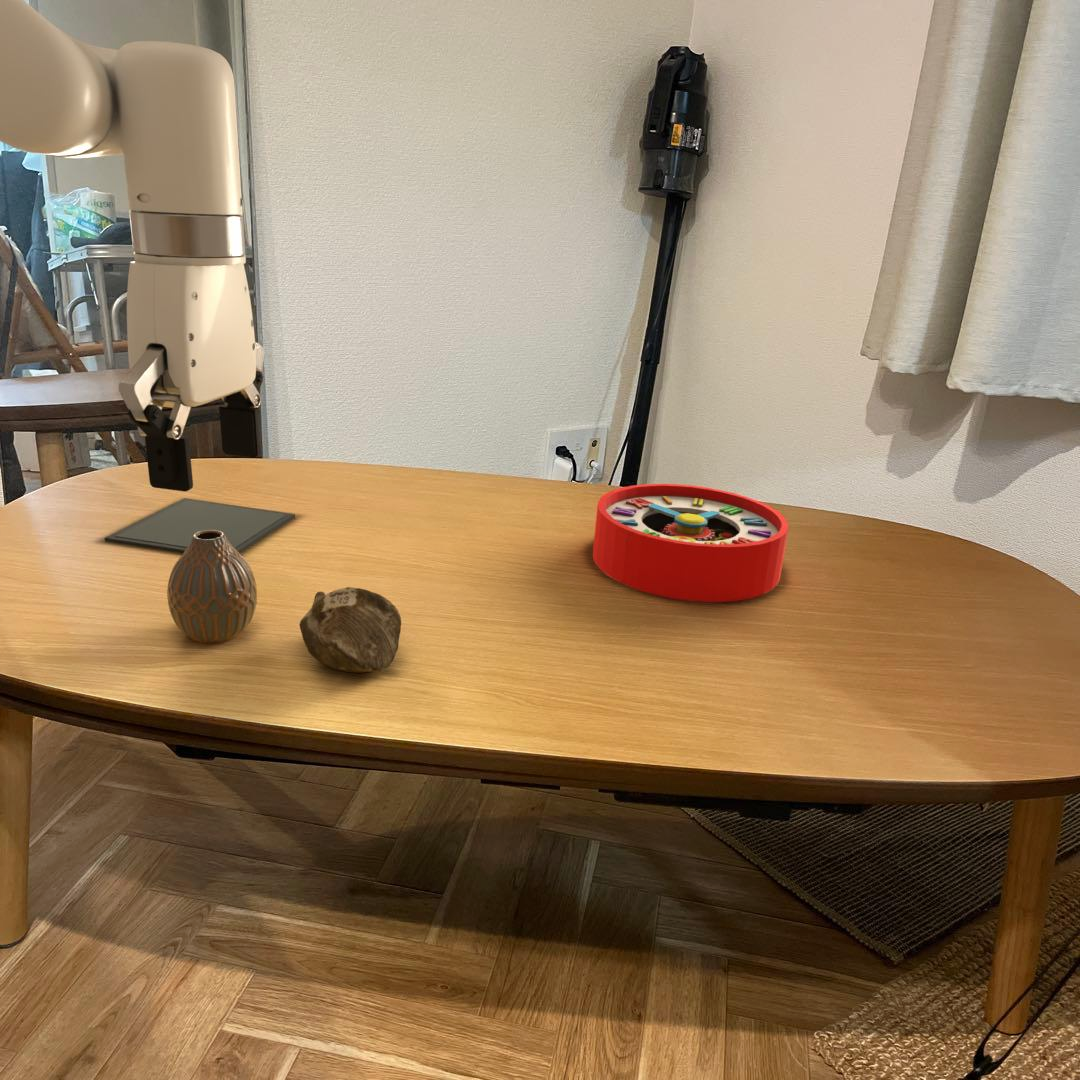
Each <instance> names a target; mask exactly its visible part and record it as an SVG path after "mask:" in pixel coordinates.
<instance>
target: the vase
mask: <svg viewBox="0 0 1080 1080" xmlns="http://www.w3.org/2000/svg"><path fill="white" fill-rule="evenodd" d="M255 578H256V577H255V575H254V572H253V570H252V567H251V566H250V564H249V562H248V561H247V560H246V558H245V557H244V556H243V555H242V553H239V552H238V551H237V550H236V549H235V548H234V547H233V546H232V545H231V544H230V543H229V541H228V540H227V538H226V536H225V534H224V533H223V532H221V531H217V530H205V531H200V532H197V533H195V534H194V535H193V537H192V540H191V542H190V544H189V546H188V548H187V549H186V550H185V552H184V553H181V556H180V557H179V558H178V559H177V561H176V562H175V563H174V566H173V567H172V570H171V572H170V574H169V578H168V582H167V588H166V589H167V590H166V593H167V594H166V595H167V597H166V598H167V605H168V609H169V613H170V616H171V618H172V620H173V621H174V624H175V625H176V626H177V628H178V629H179V630H180V631H181V632H182V634H184V635H185V636H187V637H188V638H189V639H192V640H193V641H195V642H199V643H203V644H217V643H223V642H228V641H230V640H232V639H235V638H237V637H238V636H240V634H241V633H243V632H244V630H246V629H247V627H248V626H249V624H250V623H251V621H252V619H253V617H254V615H255V611H256V607H257V602H258V590H257V581H256V579H255Z"/></svg>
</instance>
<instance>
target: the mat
mask: <svg viewBox="0 0 1080 1080" xmlns="http://www.w3.org/2000/svg"><path fill="white" fill-rule="evenodd" d="M295 518H296V514H295V513H291V512H290V513H289V512H283V511H276V510H269V509H261V508H256V507H249V506H240V505H234V504H229V503H227V504H226V503H220V502H213V501H207V500H200V499H199V500H198V499H192V498H186V497H185V498H182V499H180V500H178V501H176V502H173V503H172V504H170V505H168V506H166V507H163V508H162V509H159V510H158V511H156V512H154V513H152V514H150V515H147V516H146V517H144V518H142V519H139V520H138V521H135V522H134V523H132V524H129V525H128V526H125V527H124V528H121V529H119V530H117V531H116V532H114V533H111V534H109V535H107V536H105V537H104V542H107V543H114V544H121V545H127V546H132V547H138V548H145V549H152V550H158V551H164V552H172V553H177V554H183V553H184V552H185V550H186V549H187V548H188V546H189V544H190V542H191V540H192V537H193V535H194V534H195V533H197V532H200V531H205V530H217V531H221V532H223V533H224V534H225V536H226V538H227V540H228V541H229V543H230V544H231V545H232V546H233V547H234V548H235V549H236V550H237V551H238V552H239V553H240V554H242V553H243V552H244V551H246V550H247V549H250V548H251V547H252V546H254V545H255V544H257V543H258V542H260V541H261V540H263V539H265V538H266V537H268V536H270V535H271V534H272V533H273V532H275V531H277V530H278V529H280V528H281V527H283V526H284V525H286V524H287V523H289V522H291V521H292V520H293V519H295Z"/></svg>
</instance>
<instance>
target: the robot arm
mask: <svg viewBox="0 0 1080 1080" xmlns="http://www.w3.org/2000/svg"><path fill="white" fill-rule="evenodd" d="M236 102H237V101H236V88H235V79H234V72H233V70H232V67H231V64H230V63H229V62H228V60H227V59H226V57H224V56H223V55H222V54H221V53H219V52H217V51H215V50H213V49H211V48H207V47H204V46H199V45H196V44H195V45H194V44H190V43H189V44H188V43H183V42H174V41H164V40H163V41H162V40H159V41H158V40H138V41H137V40H136V41H131V42H128V43H125V44H123V45H122V46H121V47H120V48H118V49H115V48H110V47H104V46H97V45H94V44H89V43H86V42H83V41H81V40H79V39H77V38H74V37H73V36H71V35H70V34H68V33H66V32H65V31H64V30H62V29H60V28H58V27H57V26H55V25H54V24H53V23H52V22H50V21H49V20H48V19H47V18H45V17H44V15H42V14H41V13H40V12H38V11H37V10H36V9H35V8H33V7H32V6H31V5H30V4H29V3H28V2H27V1H26V0H0V142H1V143H3V144H5V145H7V146H9V147H11V148H14V149H16V150H19V151H22V152H26V153H31V154H35V155H36V154H38V155H47V156H52V157H56V158H66V159H86V158H98V157H108V156H123V162H124V172H125V183H126V191H127V199H128V201H127V202H128V210H129V212H128V213H129V223H130V231H131V241H132V251H133V259H134V261H130V262H129V269H128V276H127V287H126V289H127V290H126V330H127V331H126V335H127V336H126V337H127V355H128V357H127V358H128V369H129V371H128V372H127V373H126V374H125V375H124V376H123V378H122V379H121V380H120V381H119V382H118V392H119V395H120V396H121V398H122V400H123V402H124V404H125V406H126V408H127V409H128V417H129V419H130V421H132V422H133V423H134V424H135V425H136V426H137V432H138V434H139V435H140V436H141V437H144V444H145V452H146V460H147V461H146V462H147V470H148V471H147V472H148V481H149V484H150V486H151V487H152V488H155V489H161V490H170V491H178V492H184V493H185V492H189V491H190V490H192V489H193V488H194V480H193V467H192V458H191V457H192V456H191V447H190V437H189V436H184V435H183V433H184V429H185V427H186V423H187V420H188V418H189V415H190V413H191V412H190V411H191V409H192V407H193V408H195V407H198V406H203V405H205V404H208V403H211V402H214V401H216V400H220V399H221V400H222V401H223V403H224V404H222V405H219V406H218V409H219V423H220V436H221V450H222V452H223V453H224V454H225V455H231V456H239V457H249V458H256V457H259V456H260V455H261V452H262V450H261V449H262V448H261V436H260V435H261V434H260V417H259V407H260V406H261V403H262V398H261V394H260V389H261V387H262V384H263V381H264V375H263V373H262V372H263V370H264V369H263V368H264V363H265V357H266V350H265V347H264V346H262V345H261V344H260V343H258V342H257V341H256V337H255V327H254V317H253V309H252V303H251V302H252V301H251V295H250V289H249V283H248V278H247V274H246V269H245V264H246V263H247V257H246V242H245V228H244V227H245V225H244V216H243V213H244V212H243V196H242V195H243V194H242V183H241V182H242V181H241V164H240V150H239V147H240V146H239V134H238V133H239V132H238V118H237V103H236ZM163 408H169V409H170V408H171V412H170V416H167V415H166V413H165V412H164V411H163Z"/></svg>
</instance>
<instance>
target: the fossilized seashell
mask: <svg viewBox="0 0 1080 1080" xmlns="http://www.w3.org/2000/svg"><path fill="white" fill-rule="evenodd" d="M401 628H402V618H401V614H400V613H399V610H398V608H397V607H396V606H395V604H393V603H392V602H391V600H389V599H387V598H386V597H385V596H383V595H382V594H379V593H377V592H373V591H371V590H368V589H364V588H359V587H349V586H346V587H343V588H338V589H334V590H333V591H330V592H327V594H326V593H325V592H324V591H317V592H316V593H315V594H314V598H313V601H312V605H311V608H310V609H309V610H308V611H307V613H306V614H305V615H304V616H303V617H302V618H301V620H300V623H299V629H300V632H301V637H302V640H303V642H304V644H305V647H306V649H307V651H308V653H309V654H310V655H311V656H312V657H313V658H314V659H316V660H317V661H318V662H320V663H321V664H323V665H325V666H327V667H330V668H331V669H335V670H338V671H343V672H346V673H357V674H360V673H378V672H379V673H380V672H382V671H384V669H387V668H388V667H390V665H391V664H392V663H393V661H394V659H395V657H396V653H397V652H398V649H399V642H400V636H401V632H402V631H401V630H402V629H401Z"/></svg>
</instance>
